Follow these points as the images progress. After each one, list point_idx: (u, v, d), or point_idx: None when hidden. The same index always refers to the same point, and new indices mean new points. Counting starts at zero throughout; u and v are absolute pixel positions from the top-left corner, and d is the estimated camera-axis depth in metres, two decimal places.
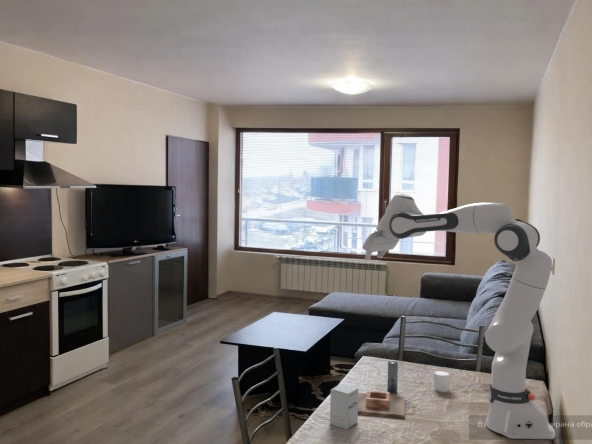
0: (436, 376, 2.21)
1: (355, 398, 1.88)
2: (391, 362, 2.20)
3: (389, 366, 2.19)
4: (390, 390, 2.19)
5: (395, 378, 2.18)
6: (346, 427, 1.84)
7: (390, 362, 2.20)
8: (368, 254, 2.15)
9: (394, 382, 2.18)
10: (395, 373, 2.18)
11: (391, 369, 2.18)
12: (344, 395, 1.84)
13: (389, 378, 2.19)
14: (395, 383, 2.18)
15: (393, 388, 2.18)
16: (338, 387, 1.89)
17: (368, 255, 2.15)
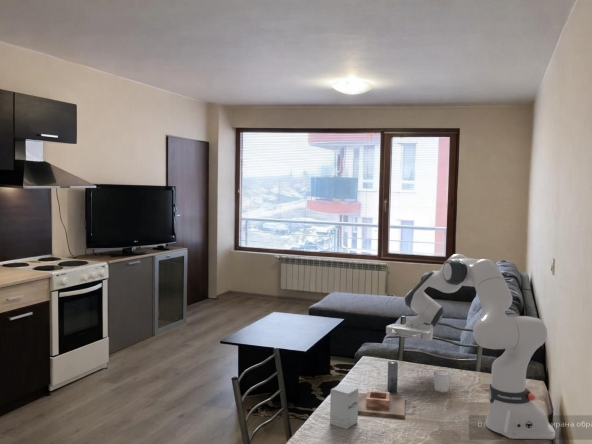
0: (436, 376, 2.21)
1: (355, 398, 1.88)
2: (391, 362, 2.20)
3: (389, 366, 2.19)
4: (390, 390, 2.19)
5: (395, 378, 2.18)
6: (346, 427, 1.84)
7: (390, 362, 2.20)
8: (392, 331, 2.35)
9: (394, 382, 2.18)
10: (395, 373, 2.18)
11: (391, 369, 2.18)
12: (344, 395, 1.85)
13: (389, 378, 2.19)
14: (395, 383, 2.18)
15: (393, 388, 2.18)
16: (338, 387, 1.89)
17: (392, 331, 2.34)
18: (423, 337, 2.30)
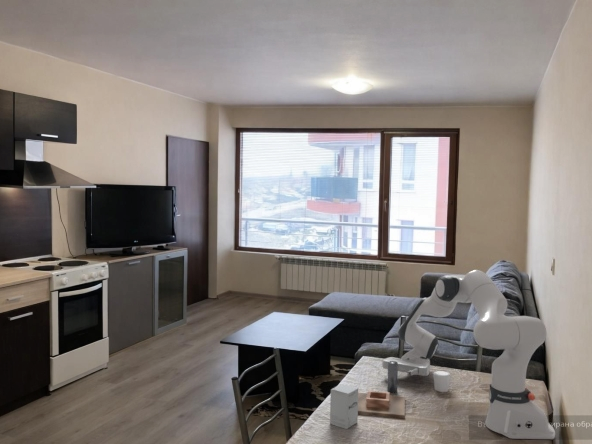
0: (436, 376, 2.21)
1: (355, 398, 1.88)
2: (391, 362, 2.20)
3: (389, 366, 2.19)
4: (390, 390, 2.19)
5: (395, 378, 2.18)
6: (346, 427, 1.84)
7: (390, 362, 2.20)
8: None
9: (394, 382, 2.18)
10: (395, 373, 2.18)
11: (391, 369, 2.18)
12: (344, 395, 1.85)
13: (389, 378, 2.19)
14: (395, 383, 2.18)
15: (393, 388, 2.18)
16: (338, 387, 1.89)
17: None
18: (420, 372, 2.26)
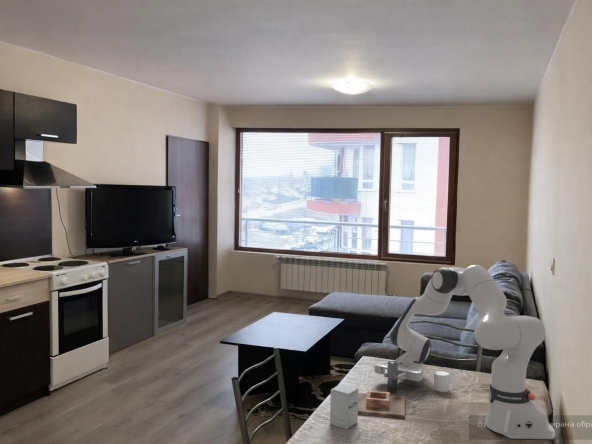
0: (436, 376, 2.21)
1: (355, 398, 1.88)
2: (391, 362, 2.20)
3: (389, 366, 2.19)
4: (390, 390, 2.19)
5: (395, 378, 2.18)
6: (346, 427, 1.84)
7: (390, 362, 2.20)
8: (385, 371, 2.24)
9: (394, 382, 2.18)
10: (395, 373, 2.18)
11: (391, 369, 2.18)
12: (344, 395, 1.85)
13: (389, 378, 2.19)
14: (395, 383, 2.18)
15: (393, 388, 2.18)
16: (338, 387, 1.89)
17: (385, 371, 2.23)
18: (412, 377, 2.19)
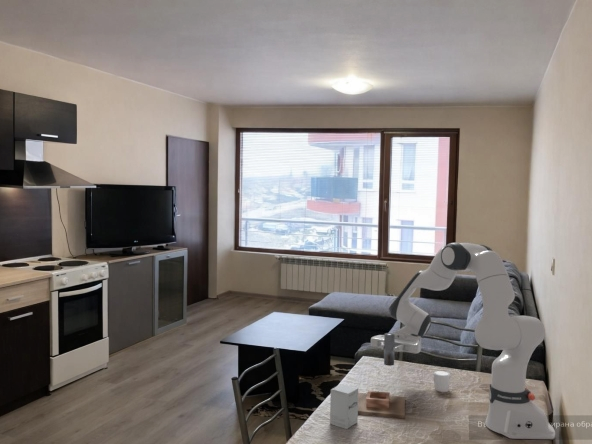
0: (436, 376, 2.21)
1: (355, 398, 1.88)
2: (388, 334, 2.14)
3: (385, 338, 2.13)
4: (387, 362, 2.13)
5: (392, 350, 2.12)
6: (346, 427, 1.84)
7: (387, 334, 2.14)
8: (381, 344, 2.18)
9: (391, 354, 2.12)
10: (392, 345, 2.12)
11: (388, 341, 2.12)
12: (344, 395, 1.85)
13: (386, 350, 2.13)
14: (392, 355, 2.12)
15: (390, 361, 2.12)
16: (338, 387, 1.89)
17: None
18: (410, 349, 2.13)
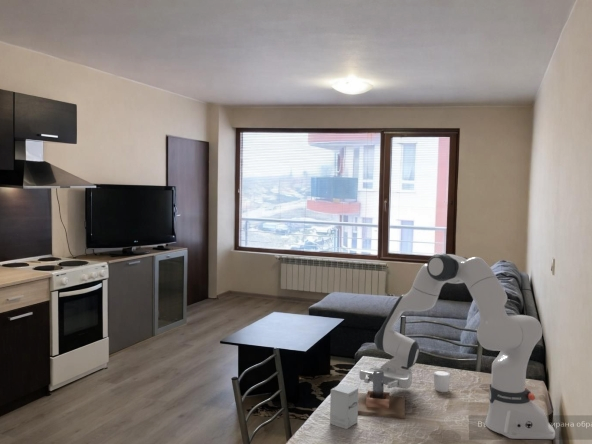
0: (436, 376, 2.21)
1: (355, 398, 1.88)
2: (376, 372, 2.04)
3: (374, 376, 2.03)
4: None
5: (381, 389, 2.02)
6: (346, 427, 1.84)
7: (375, 372, 2.04)
8: (365, 377, 2.09)
9: (380, 393, 2.02)
10: (381, 383, 2.02)
11: (376, 379, 2.02)
12: (344, 395, 1.85)
13: (374, 389, 2.03)
14: (381, 394, 2.03)
15: None
16: (338, 387, 1.89)
17: (365, 377, 2.08)
18: (400, 384, 2.04)
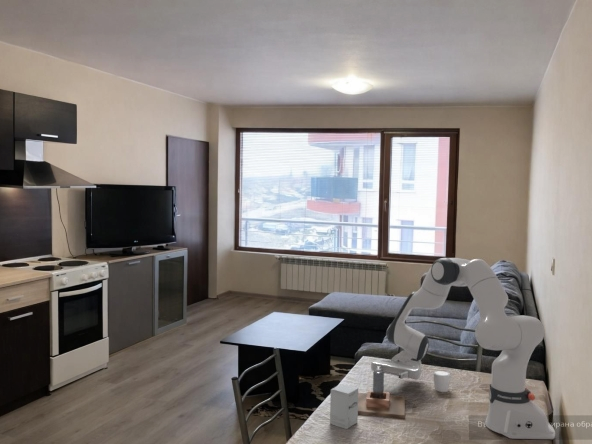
0: (436, 376, 2.21)
1: (355, 398, 1.88)
2: (377, 372, 2.04)
3: (374, 376, 2.03)
4: None
5: (381, 389, 2.02)
6: (346, 427, 1.84)
7: (376, 372, 2.04)
8: (377, 368, 2.19)
9: (380, 393, 2.02)
10: (381, 384, 2.02)
11: (376, 379, 2.02)
12: (344, 395, 1.85)
13: (374, 389, 2.03)
14: (381, 394, 2.03)
15: None
16: (338, 387, 1.89)
17: (377, 368, 2.19)
18: (410, 375, 2.14)
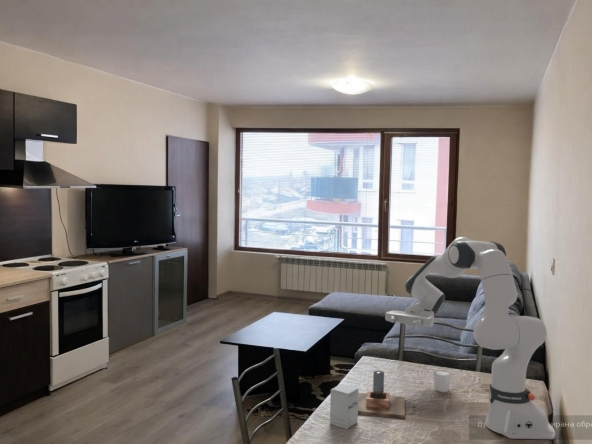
0: (436, 376, 2.21)
1: (355, 398, 1.88)
2: (377, 372, 2.04)
3: (375, 376, 2.03)
4: None
5: (381, 389, 2.02)
6: (346, 427, 1.84)
7: (376, 372, 2.04)
8: (391, 318, 2.28)
9: (380, 393, 2.02)
10: (381, 384, 2.02)
11: (377, 379, 2.02)
12: (344, 395, 1.85)
13: (374, 389, 2.03)
14: (381, 394, 2.03)
15: None
16: (338, 387, 1.89)
17: (391, 318, 2.27)
18: (423, 323, 2.22)
